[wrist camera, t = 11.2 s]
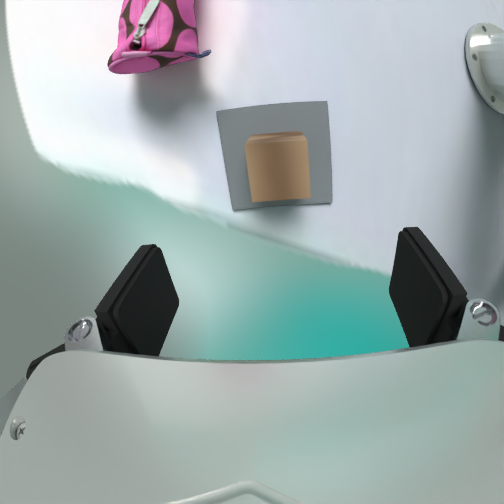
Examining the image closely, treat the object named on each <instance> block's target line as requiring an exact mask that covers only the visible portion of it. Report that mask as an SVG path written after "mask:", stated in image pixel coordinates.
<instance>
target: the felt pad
mask: <svg viewBox="0 0 504 504" xmlns="http://www.w3.org/2000/svg"><path fill="white" fill-rule="evenodd" d="M216 113H217V120H218V126H219V132H220V138H221V144H222V150H223V156H224V162H225V168H226V174H227V180H228V186H229V191H230V197H231V203H232V209H233V210H238V209H249V208H261V207H273V206H286V205H300V204H316V203H332V166H331V145H330V130H329V116H328V105H327V101H315V102H294V103H280V104H269V105H259V106H251V107H243V108H235V109H229V110H222V111H217V112H216ZM294 131H301V132H302V133H303V135H304V136H305V137H306V139H307V142H308V156H309V172H310V192H311V198H305V199H289V200H274V201H261V202H252V198H251V191H250V183H249V176H248V168H247V161H246V154H245V146H244V145H245V143H246V142H247V140H248V139H249V137H250V136H251V135H257V134H267V133H279V132H294Z"/></svg>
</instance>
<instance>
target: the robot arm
mask: <svg viewBox="0 0 504 504" xmlns="http://www.w3.org/2000/svg"><path fill="white" fill-rule="evenodd" d="M465 51H466V59H467V64H468V68H469V71H470V74H471V77H472V79H473V82H474V84H475V86H476V88H477V90H478V91H479V93H480V95H481V96H482V97H483V99H484V100H485V102H486V103H487V104H488V105H489V106H490V107H491V108H493V109H494V110H495V111H497V112H499V113H501V114H504V31H503V30H502V29H500V28H499V27H497V26H496V25H493V24H490V23H479V24H476V25H474V26H473V27H472V28H471V29H470V30H469V32H468V34H467V38H466V46H465ZM389 294H390V297H391V299H392V302H393V304H394V307H395V309H396V312H397V314H398V317H399V319H400V322H401V325H402V327H403V330H404V332H405V335H406V338H407V341H408V344H409V347H410V348H404V349H398V350H390V351H384V352H376V353H368V354H359V355H350V356H339V357H326V358H313V359H293V360H254V361H253V360H248V361H246V360H206V359H186V358H172V357H159V354H160V351H161V349H162V346H163V343H164V341H165V338H166V336H167V334H168V331H169V329H170V326H171V324H172V321H173V318H174V316H175V314H176V311H177V309H178V306H179V298H178V296H177V293H176V290H175V287H174V285H173V282H172V279H171V276H170V273H169V271H168V268H167V265H166V262H165V259H164V256H163V253H162V250H161V249H160V248H159V247H157V246H156V245H155V244H152V245H142V246H141V247H140V248H139V249H138V250H137V252H136V253H135V254H134V256H133V257H132V258H131V260H130V261H129V262H128V264H127V265H126V266H125V268H124V269H123V271H122V272H121V273H120V275H119V276H118V278H117V279H116V280H115V282H114V283H113V284H112V286H111V287H110V289H109V290H108V292H107V293H106V295H105V296H104V297H103V299H102V300H101V302H100V303H99V305H98V306H97V308H96V309H95V313H96V315H97V316H98V317H97V318H96V320H95V319H94V318H92V317H82V318H79V319H77V320H75V321H74V322H73V323H72V324H71V325H70V326H69V327H68V328H67V330H66V332H65V336H64V339H65V343H64V344H62V345H60V346H59V347H57V348H55V349H53V350H52V351H50V352H48V353H46V354H44V355H42V356H41V357H39V358H37V359H36V360H34V361H32V362H31V364H30V366H29V368H28V370H27V375H26V378H27V380H26V379H25V378H22V379H21V380H20V381H19V382H18V383H17V384H16V385H15V386H14V387H13V388H12V389H11V390H10V391H8V392H7V393H6V394H5V395H4V396H3V397H2V398H1V399H0V432H1V438H0V504H504V326H502V325H500V323H501V317H500V313H499V311H498V309H497V308H496V307H495V306H494V305H493V304H492V303H491V302H489V301H487V300H484V299H481V298H475V299H472V300H470V301H468V299H467V297H466V295H467V292H466V290H465V289H464V287H463V286H462V284H461V283H460V282H459V280H458V279H457V277H456V276H455V274H454V273H453V272H452V270H451V269H450V267H449V266H448V265H447V263H446V262H445V261H444V259H443V258H442V256H441V255H440V254H439V253H438V251H437V250H436V249H435V247H434V246H433V245H432V244H431V242H430V241H429V240H428V239H427V237H426V236H425V235H424V234H423V232H422V231H421V230H420V229H419V228H418V227H405V228H403V230H402V231H400V232H399V235H398V241H397V248H396V254H395V260H394V265H393V271H392V276H391V281H390V286H389Z"/></svg>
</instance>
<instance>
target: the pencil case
mask: <svg viewBox="0 0 504 504" xmlns="http://www.w3.org/2000/svg"><path fill="white" fill-rule="evenodd" d="M210 53H211V50H207V51H204V52H203V53H201V54H199V51H198V37H197V28H196V20H195V13H194V0H124V2H123V5H122V10H121V15H120V19H119V35H118V46H117V49H116V50H115V51H114V52H113V53H112V55H111V56H110V58H109V60H108V67H109V70H110V71H111V72H113V73H117V74H131V73H144V72H149V71H152V70H155V69H158V68H161V67H164V66H167V65H171V64H175V63H179V62H182V61H190V60H195V59H196V58H203V57H205V56H208V55H209V54H210Z"/></svg>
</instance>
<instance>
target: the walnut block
mask: <svg viewBox="0 0 504 504" xmlns="http://www.w3.org/2000/svg"><path fill="white" fill-rule="evenodd" d="M244 146H245V154H246V161H247V168H248V176H249V183H250V191H251V198H252V202H261V201H274V200H289V199H305V198H311V192H310V172H309V156H308V142H307V139H306V137H305V136H304V135H303V133H302V132H301V131H294V132H279V133H267V134H257V135H251V136H250V137H249V139H248V140H247V142H246V143H245V145H244Z"/></svg>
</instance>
